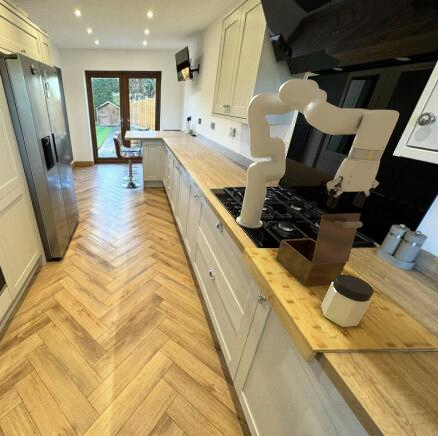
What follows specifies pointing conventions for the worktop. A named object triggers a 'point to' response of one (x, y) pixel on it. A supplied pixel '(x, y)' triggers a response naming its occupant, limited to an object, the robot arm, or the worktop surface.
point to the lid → (336, 237)
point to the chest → (306, 262)
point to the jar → (347, 300)
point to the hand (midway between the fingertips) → (343, 206)
